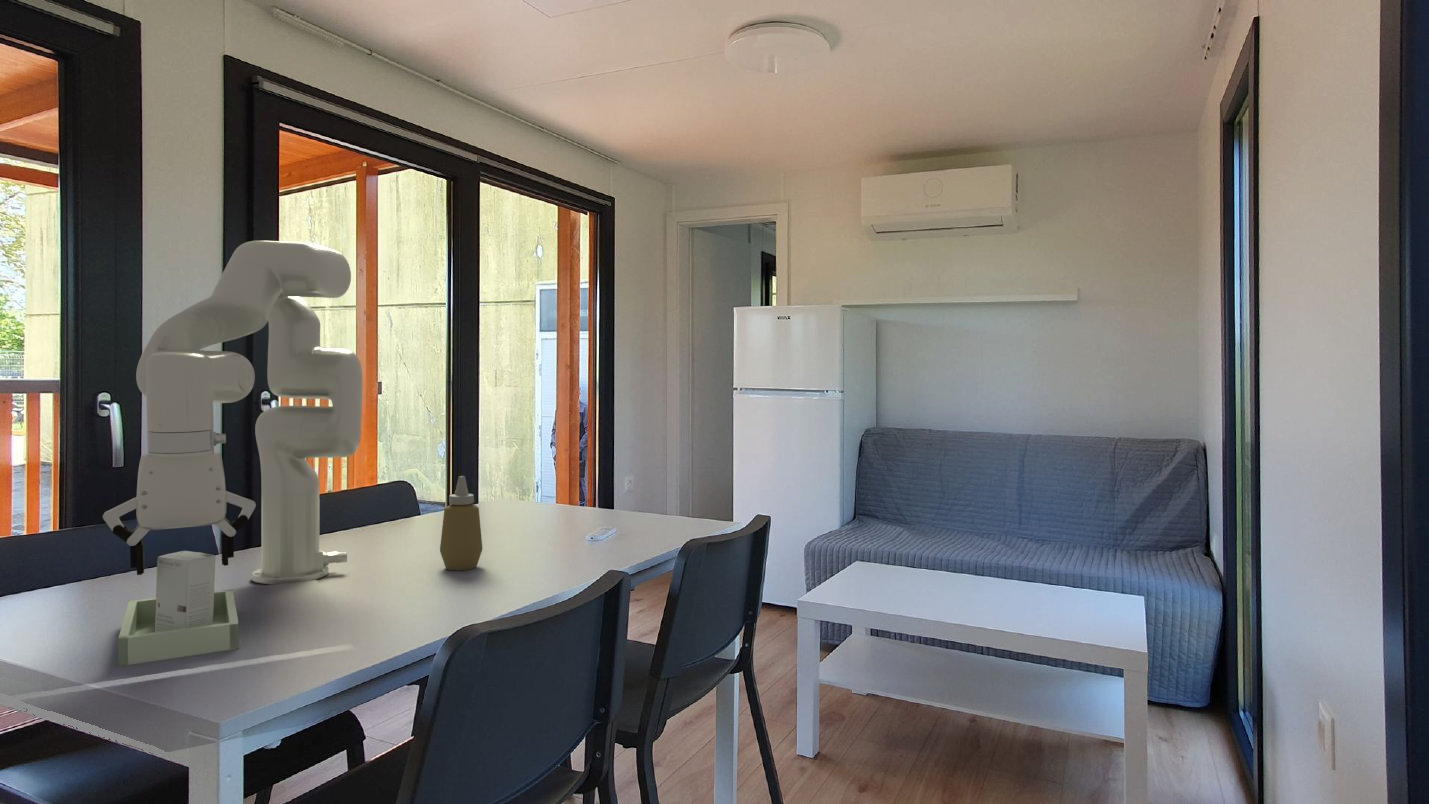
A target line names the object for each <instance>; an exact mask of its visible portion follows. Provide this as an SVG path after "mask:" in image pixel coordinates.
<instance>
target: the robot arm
mask: <svg viewBox="0 0 1429 804" xmlns="http://www.w3.org/2000/svg"><path fill="white" fill-rule="evenodd" d="M351 279H352V272H351V267H350V264H349V262H348V259H347V258H346V257H345V256H344V255H343V253H341V252H340V251H337V250H335V249H332V248H328V247H325V246H323V245H319V244H317V243H312V242H302V241H287V240H286V241H285V240H283V241H282V240H280V241H279V240H251V241H246V242H243V243H242V244H240V245H238V247H236V249H235V250H234V252H232V255H231V257H230V258H229V260H228V262H227V264H226V266H225V268H224V270H223V272H222V273H221V276H220V278H219V280H218V281H217V283H216V285H215V286H214V289H213V291H212V292H211V293H212V294H211V295H210V296H209V297H207V298H205V299H203V300H200V301H198V302H196V303H194V304H192V305H190V306H189V307H187V308H185V309H183V310H181V311H180V312H177V313H176V314H174V315H173V316H171V317H170V318H168V319H167V320H165V321H164V322H163V323H161V324H160V325H159V326H158V327H157V328H156V330H155V331H154V332H153V334H152V336H151V337H150V339H149V340H148V342H147V344H146V346H145V348H144V349H143V351H142V353H141V356H140V358H139V361H138V363H137V368H136V371H135V372H136V374H135V379H136V384H137V387H138V390H139V391H140V392H141V394H142V395H143V396H145V397H146V430H147V431H146V439H147V440H146V442H147V453H142V454H141V456H140V460H139V466H138V470H137V482H136V483H137V484H136V496H135V497H133V498H131V499H129V500H127V501H125V502H123V503H120V504H119V505H117V506H115V507H113V508H111V509H109V510H106V511H104V513H103V515H102V519H103V520H104V523H106V525H107V526H108V527H109V528H110V530H111V531H112V533H113V534H114V535H115V536H117V537H118V538H119V539H121V540H122V541H123V542H125V543H126V544H127V545H128V546H129V550H130V552H129V554H130V556H129V557H130V558H129V559H130V562H129V563H130V569H134V568H136V575H137V576H142V575H143V574H144V573H145V570H146V569H145V566H146V565H145V541H143V538H144V537H145V536H146V535H147V533H148V532H150V531H154V530H155V531H159V530H170V529H181V528H192V527H205V526H211V525H212V526H213V525H215V527H216V528H218V529H219V530H220V531H222V534H221V535H220V536H221V537H220V538H221V539H220V541H221V543H220V544H221V545H220V546H221V565H222V566H224V567H225V566H229V559H230V558H234V556H235V553H234V552H235V549H234V545H235V544H234V540H235V539H234V537H235V535H237V532H239V530H241V529H242V528H243V527H244V525H246V524H247V523H248V522H249V520H250V518H251V516H252V514H253V512H254V511H255V509H256V506H257V504H256V502H255V501H254V500H253V499H250V498H246V497H243V496H241V495H238V494H235V493H232V492H231V491H227V490H226V477H225V469H224V463H223V458H222V454H221V451H220V450H215V447H217V445H220V444H226V443H227V436H226V435H227V434H226V433H220V432H217V431H215V430H214V427H215V426H214V404H226V403H227V404H228V403H229V404H230V403H231V404H232V403H236V402H238V401H241V400H243V399H244V398H246V397H247V396H248V395H249V394H250V393H251V391H252V390H253V388H254V385H255V380H256V379H255V378H256V376H255V375H256V374H255V369H254V366H253V364H252V362H250V360H249V359H248V358H246V356H244V355H242V354H240V353H238V352H234V351H228V350H227V351H226V350H225V351H223V350H203V349H205V348H207V347H210V346H214V345H216V344H221V343H224V342H229V341H232V340H233V341H234V340H236V339H240V338H242V337H246V336H249V335H251V334H254V333H256V332H259V331H261V330H262V329H263V328H264V327H265V326H266V325H267V324H268V344H267V345H268V346H267V348H268V349H267V374H266V375H267V385H268V388H269V391H270V392H271V393H272V394H273V395H275V396H276V397H279V398H284V399H304V400H306V399H308V400H310V399H311V400H330V401H331V404H332V406H323V405H322V406H316V405H315V406H313V405H278V406H274V407H270V408H268V409H266V410H264V411H262V412H261V413H260V415H259V416H258V417H257V419H256V422H255V426H254V428H255V430H254V431H255V432H254V433H255V439H256V445H257V450H258V455H259V462H260V473H261V474H260V475H261V482H260V483H261V505H260V506H261V510H260V512H261V514H260V515H261V518H260V519H261V525H260V527H261V535H260V536H261V558H260V559H261V568H258V569H256V570H254V571H253V572H251V580H252V581H253V582H254V583H257V584H258V583H259V584H264V585H280V584H290V583H300V582H309V581H315V580H317V579H321V578H324V577H325V576H327V575H328V574H329V570H330V568H329V564H339V563H340V564H341V563H347V562H348V554H347V552H346V551H344V552H338V551H331V552H325V551H323V549H322V548H321V546H320V492H321V491H320V489H321V486H320V485H321V484H320V483H321V482H320V479H319V475H318V474H317V472H316V470H314V468H313V466H312V465H311V464H310V463H309V461H307V459H311V458H313V459H314V458H316V459H317V458H318V459H321V458H322V459H325V458H327V459H329V458H330V459H332V458H348V457H351V456H353V455H354V454H355V453H356V452H357V451H358V449H359V446H360V444H361V443H360V441H361V436H362V415H363V414H362V409H363V407H362V406H363V370H362V365H361V361H360V359H359V357H358V356H357V354H356V353H355V352H353V351H351V350H349V349H346V348H340V347H331V348H330V347H321V322H320V318H319V317H318V315H317V314H316V312H315V310H314V309H313V308H312V307H311V306H310V305H309V304H308V303H307V301H306V300H305V299H304V298H323V299H324V298H326V299H335V298H336V299H337V298H340V297H342V296H344V295H345V294H346V293H347V291H348V290H349V288H350V285H351V282H352V280H351ZM227 503H229V504H230V505H231V504H232V505H234V506H237V507H240V508H241V511H240V513H239V514H238V516H236V517H235V518H234V519H233V520H232V521H231V522H230V520H228V519H227V518H226V516H227V515H226V514H227ZM134 510H136V511H135V512H136V521H137V526H136V527H135V528H134V529H133V530H131V528H129V527H127V526H126V525H125V524H123V523H122V521H121V519H120V518H121V517H122V516H124V515H126V514H128V513H129V512H133V511H134Z"/></svg>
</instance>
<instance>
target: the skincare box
mask: <svg viewBox="0 0 1429 804" xmlns="http://www.w3.org/2000/svg"><path fill="white" fill-rule="evenodd" d="M215 574H216V555H215V554H208V553H204V552H199V551H197V552H196V551H190V550H181V551H175V552H172V553H167V554H163V555H159V556H157V557H156V587H155V588H156V589H155V590H156V591H155V592H156V593H155V598H156V615H155V632H161V631H169V630H177V629H184V628H192V627H200V626H207V625H213V607H214V591H215V576H216V575H215Z"/></svg>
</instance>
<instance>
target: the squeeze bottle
mask: <svg viewBox="0 0 1429 804" xmlns="http://www.w3.org/2000/svg"><path fill="white" fill-rule="evenodd" d="M448 498H449V499H448V503H449V505H447V506H446V507H445V508H444V509H443V518H442V519H443V520H442V526H441V537H440V545H439V553H440V556H441V558H442V561H443V564H444V568H445V569H446V570H451V571H467V570H471V569H475V568H476V567H477V566H478V564H479V560H480V558H481V555H482V552H483V541H482V540H483V539H482V532H481V531H482V529H481V519H480V510H479V509H480V507H478V506H477V505H475V504H474V503H475V496H474V494H473V493H469V490H468V484H467V480H466V475H465V476H464V475H460V476H458V478H457V483H456V487H455V491H454V494H449V497H448Z"/></svg>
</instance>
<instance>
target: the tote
mask: <svg viewBox="0 0 1429 804" xmlns="http://www.w3.org/2000/svg"><path fill="white" fill-rule="evenodd" d="M124 613H125V614H124V618H123V620H122V623H121V627H120V630H119V635H118V638H117V664H118V665H117V666H118V667H124V666H130V665H131V666H132V665H138V664H144V663H150V662H157V661H165V660H171V659H172V660H173V659H179V658H186V657H193V656H199V655H206V654H207V655H208V654H212V653H214V654H215V653H219V652H220V653H221V652H225V651H226V652H227V651H233V650H239V648H240V647H239V642H240V641H239V632H240V631H239V618H238V613H237V608H236V602H235V595H234V590H233V589H225V590H216V591H215V590H214V607H213V625H207V626H200V627H192V628H184V629H177V630H169V631H161V632H155V615H156V597H153V598H142V599H135V600H129V601H128V603H127V607H126V610H125V612H124Z"/></svg>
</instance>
